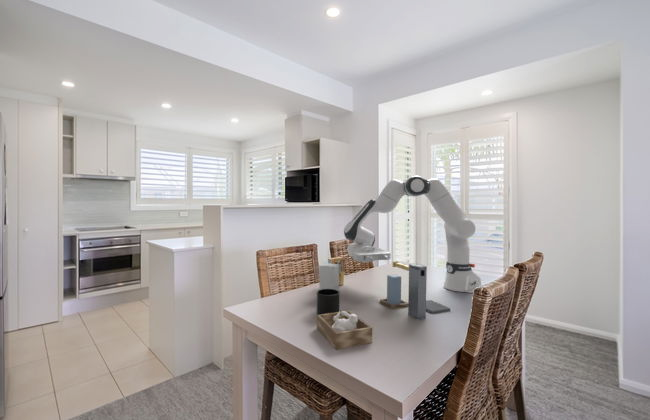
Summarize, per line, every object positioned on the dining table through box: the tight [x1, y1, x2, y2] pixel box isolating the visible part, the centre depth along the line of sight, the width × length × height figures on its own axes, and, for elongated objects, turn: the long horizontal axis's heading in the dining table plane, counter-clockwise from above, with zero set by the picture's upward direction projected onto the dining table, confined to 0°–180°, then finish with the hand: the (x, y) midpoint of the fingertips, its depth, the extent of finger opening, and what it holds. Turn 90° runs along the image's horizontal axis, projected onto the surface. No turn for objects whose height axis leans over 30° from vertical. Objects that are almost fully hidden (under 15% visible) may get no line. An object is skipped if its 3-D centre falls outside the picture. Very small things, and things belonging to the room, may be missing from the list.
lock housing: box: [407, 263, 428, 320], centre depth 124 cm, size 4×6×21 cm, turn 23°
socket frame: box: [379, 297, 408, 310], centre depth 139 cm, size 10×10×1 cm
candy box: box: [327, 256, 345, 286], centre depth 170 cm, size 9×4×15 cm, turn 129°
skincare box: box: [318, 262, 340, 292], centre depth 151 cm, size 8×7×16 cm
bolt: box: [392, 260, 409, 272], centre depth 132 cm, size 2×15×2 cm, turn 23°
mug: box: [316, 289, 341, 315], centre depth 128 cm, size 9×12×9 cm
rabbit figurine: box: [332, 310, 358, 332], centre depth 106 cm, size 12×8×10 cm, turn 77°
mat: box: [426, 299, 451, 315], centre depth 135 cm, size 10×12×1 cm
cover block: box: [386, 274, 402, 305], centre depth 139 cm, size 4×4×13 cm
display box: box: [316, 310, 373, 350], centre depth 106 cm, size 13×17×5 cm
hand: (379, 258), depth 150 cm, fingers open, 6 cm apart
